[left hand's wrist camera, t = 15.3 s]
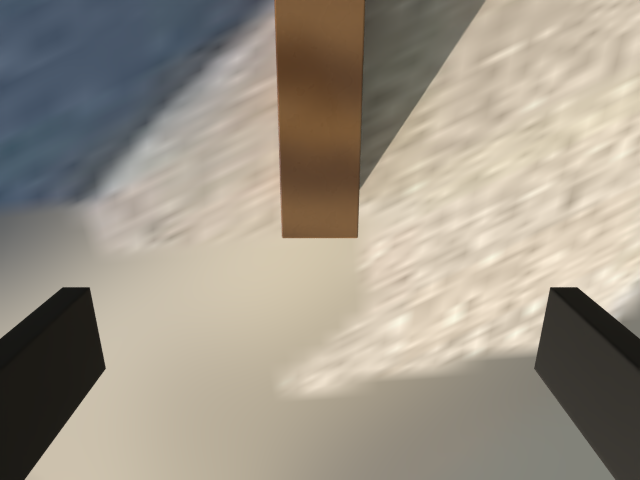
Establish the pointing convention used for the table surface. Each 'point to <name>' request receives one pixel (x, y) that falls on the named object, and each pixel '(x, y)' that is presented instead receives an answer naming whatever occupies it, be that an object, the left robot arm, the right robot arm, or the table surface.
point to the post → (319, 115)
